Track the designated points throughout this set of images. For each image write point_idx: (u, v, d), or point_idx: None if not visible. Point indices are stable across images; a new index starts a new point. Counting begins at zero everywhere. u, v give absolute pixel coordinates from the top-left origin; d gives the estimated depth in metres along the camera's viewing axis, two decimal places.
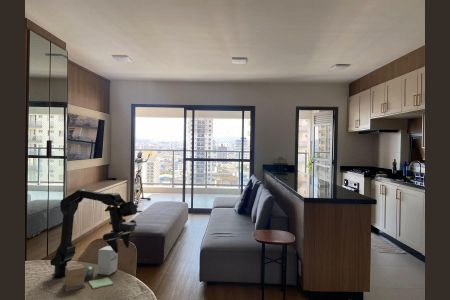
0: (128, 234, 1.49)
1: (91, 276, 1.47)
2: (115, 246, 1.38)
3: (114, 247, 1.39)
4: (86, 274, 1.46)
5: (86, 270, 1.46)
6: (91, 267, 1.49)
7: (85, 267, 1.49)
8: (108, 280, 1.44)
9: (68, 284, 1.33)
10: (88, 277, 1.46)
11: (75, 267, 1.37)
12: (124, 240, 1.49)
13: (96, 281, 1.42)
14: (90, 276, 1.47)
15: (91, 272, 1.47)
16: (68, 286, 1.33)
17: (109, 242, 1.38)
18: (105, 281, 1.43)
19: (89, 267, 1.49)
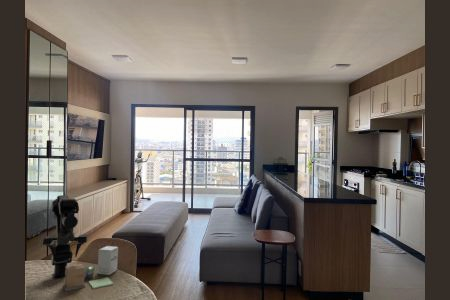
0: (77, 244, 1.42)
1: (91, 276, 1.47)
2: None
3: None
4: (86, 274, 1.46)
5: (86, 270, 1.46)
6: (91, 267, 1.49)
7: (85, 267, 1.49)
8: (108, 280, 1.44)
9: (68, 284, 1.33)
10: (88, 277, 1.46)
11: (75, 267, 1.37)
12: None
13: (96, 281, 1.42)
14: (90, 276, 1.47)
15: (91, 272, 1.47)
16: (68, 286, 1.33)
17: None
18: (105, 281, 1.43)
19: (89, 267, 1.49)
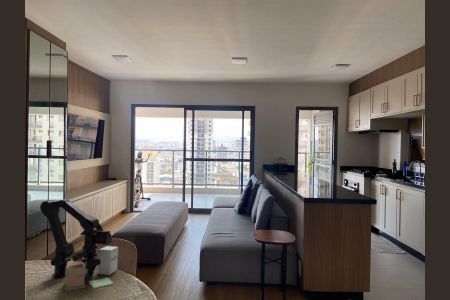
0: None
1: (91, 276, 1.47)
2: None
3: None
4: (86, 274, 1.46)
5: (86, 270, 1.46)
6: None
7: (85, 267, 1.49)
8: (108, 280, 1.44)
9: (68, 284, 1.33)
10: (88, 277, 1.46)
11: (75, 267, 1.37)
12: None
13: (96, 281, 1.42)
14: None
15: None
16: (68, 286, 1.33)
17: None
18: (105, 281, 1.43)
19: None
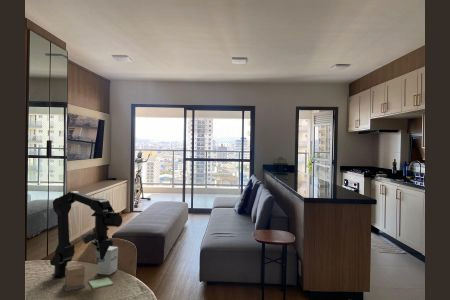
0: None
1: (103, 259, 1.42)
2: None
3: None
4: (98, 257, 1.41)
5: (98, 252, 1.41)
6: None
7: (96, 250, 1.44)
8: (108, 280, 1.44)
9: (68, 284, 1.33)
10: (100, 260, 1.41)
11: (75, 267, 1.37)
12: None
13: (96, 281, 1.42)
14: (102, 259, 1.42)
15: None
16: (68, 286, 1.33)
17: None
18: (105, 281, 1.43)
19: None
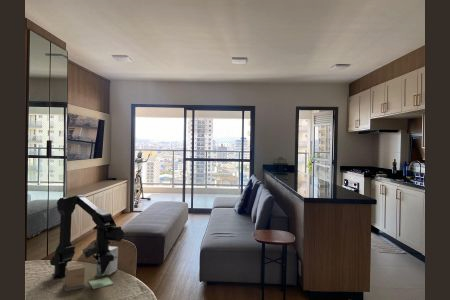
0: None
1: (104, 273, 1.41)
2: None
3: None
4: (99, 271, 1.40)
5: (99, 266, 1.40)
6: None
7: None
8: (108, 280, 1.44)
9: (68, 284, 1.33)
10: (101, 274, 1.40)
11: (75, 267, 1.37)
12: None
13: (96, 281, 1.42)
14: None
15: None
16: (68, 286, 1.33)
17: None
18: (105, 281, 1.43)
19: None
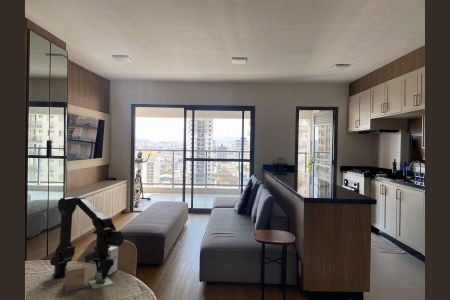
0: None
1: (103, 280, 1.41)
2: None
3: None
4: (98, 278, 1.40)
5: (98, 274, 1.40)
6: None
7: (97, 271, 1.42)
8: (108, 280, 1.44)
9: (68, 284, 1.33)
10: (100, 281, 1.40)
11: (75, 267, 1.37)
12: None
13: None
14: (102, 280, 1.40)
15: None
16: (68, 286, 1.33)
17: None
18: None
19: None
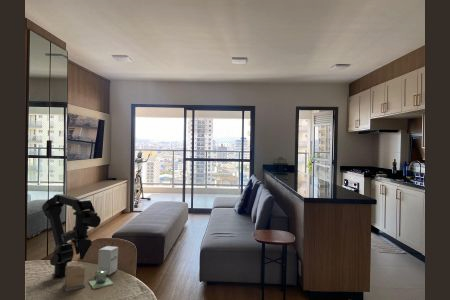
0: None
1: (103, 280, 1.41)
2: None
3: None
4: (98, 278, 1.40)
5: (98, 274, 1.40)
6: (103, 271, 1.42)
7: (97, 271, 1.42)
8: (108, 280, 1.44)
9: (68, 284, 1.33)
10: (100, 281, 1.40)
11: (75, 267, 1.37)
12: None
13: None
14: (102, 280, 1.40)
15: (103, 276, 1.41)
16: (68, 286, 1.33)
17: None
18: None
19: (101, 271, 1.42)
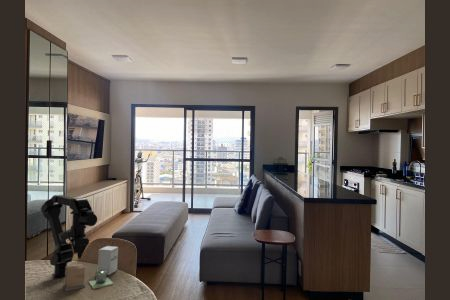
0: None
1: (103, 280, 1.41)
2: None
3: None
4: (98, 278, 1.40)
5: (98, 274, 1.40)
6: (103, 271, 1.42)
7: (97, 271, 1.42)
8: (108, 280, 1.44)
9: (68, 284, 1.33)
10: (100, 281, 1.40)
11: (75, 267, 1.37)
12: None
13: None
14: (102, 280, 1.40)
15: (103, 276, 1.41)
16: (68, 286, 1.33)
17: None
18: None
19: (101, 271, 1.42)
